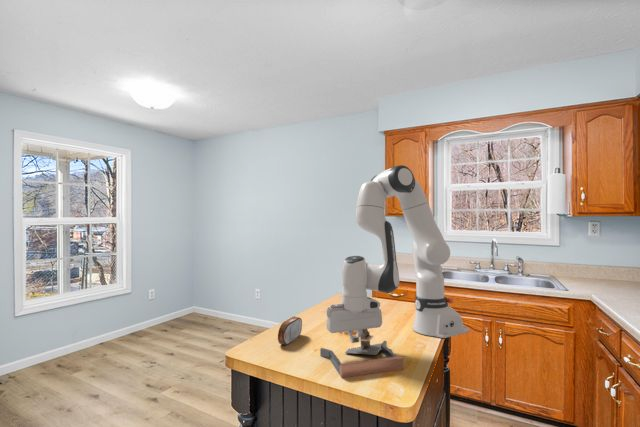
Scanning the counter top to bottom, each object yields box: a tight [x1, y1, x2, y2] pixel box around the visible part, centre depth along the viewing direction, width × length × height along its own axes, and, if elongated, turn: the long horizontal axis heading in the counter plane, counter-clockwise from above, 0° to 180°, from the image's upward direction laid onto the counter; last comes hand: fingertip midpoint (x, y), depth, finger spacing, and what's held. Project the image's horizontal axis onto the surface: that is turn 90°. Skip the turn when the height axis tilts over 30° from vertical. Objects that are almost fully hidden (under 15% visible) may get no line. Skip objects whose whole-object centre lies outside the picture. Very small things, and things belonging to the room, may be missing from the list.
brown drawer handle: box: [319, 340, 404, 379], centre depth 108 cm, size 25×17×4 cm
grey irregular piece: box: [344, 329, 383, 356], centre depth 117 cm, size 3×7×7 cm, turn 158°
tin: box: [277, 315, 303, 346], centre depth 126 cm, size 15×3×8 cm, turn 155°
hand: (354, 342), depth 115 cm, fingers closed
